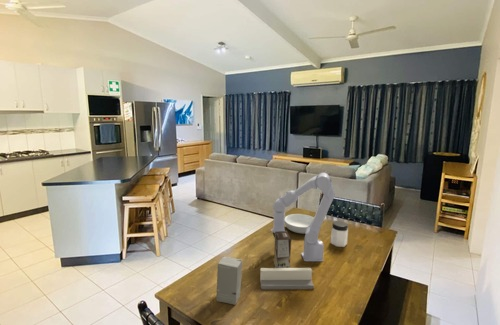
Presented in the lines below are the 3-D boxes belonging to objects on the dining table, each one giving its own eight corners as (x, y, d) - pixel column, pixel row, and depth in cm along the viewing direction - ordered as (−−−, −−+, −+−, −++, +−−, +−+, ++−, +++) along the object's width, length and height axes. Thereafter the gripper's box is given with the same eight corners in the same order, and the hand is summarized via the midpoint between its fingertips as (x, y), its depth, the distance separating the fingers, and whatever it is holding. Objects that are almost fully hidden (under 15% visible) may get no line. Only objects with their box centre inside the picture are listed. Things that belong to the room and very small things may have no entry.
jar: (327, 241, 155) (329, 221, 153) (338, 238, 158) (340, 219, 156) (338, 248, 147) (340, 227, 145) (350, 245, 150) (351, 225, 148)
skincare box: (216, 301, 104) (215, 264, 101) (222, 290, 111) (222, 254, 108) (236, 305, 102) (236, 267, 99) (242, 294, 109) (242, 258, 106)
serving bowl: (278, 231, 167) (278, 221, 166) (292, 221, 184) (293, 211, 183) (309, 240, 155) (310, 229, 154) (322, 228, 172) (323, 218, 171)
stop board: (310, 280, 118) (310, 267, 117) (313, 289, 112) (314, 276, 111) (260, 280, 118) (260, 268, 116) (261, 289, 112) (261, 276, 111)
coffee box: (290, 271, 125) (291, 239, 122) (276, 272, 124) (277, 239, 121) (286, 261, 134) (287, 230, 131) (273, 261, 133) (274, 231, 130)
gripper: (269, 216, 145) (269, 239, 148) (272, 227, 131) (272, 253, 134) (282, 216, 146) (281, 240, 148) (287, 227, 131) (286, 253, 134)
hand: (278, 246), depth 141 cm, fingers closed
